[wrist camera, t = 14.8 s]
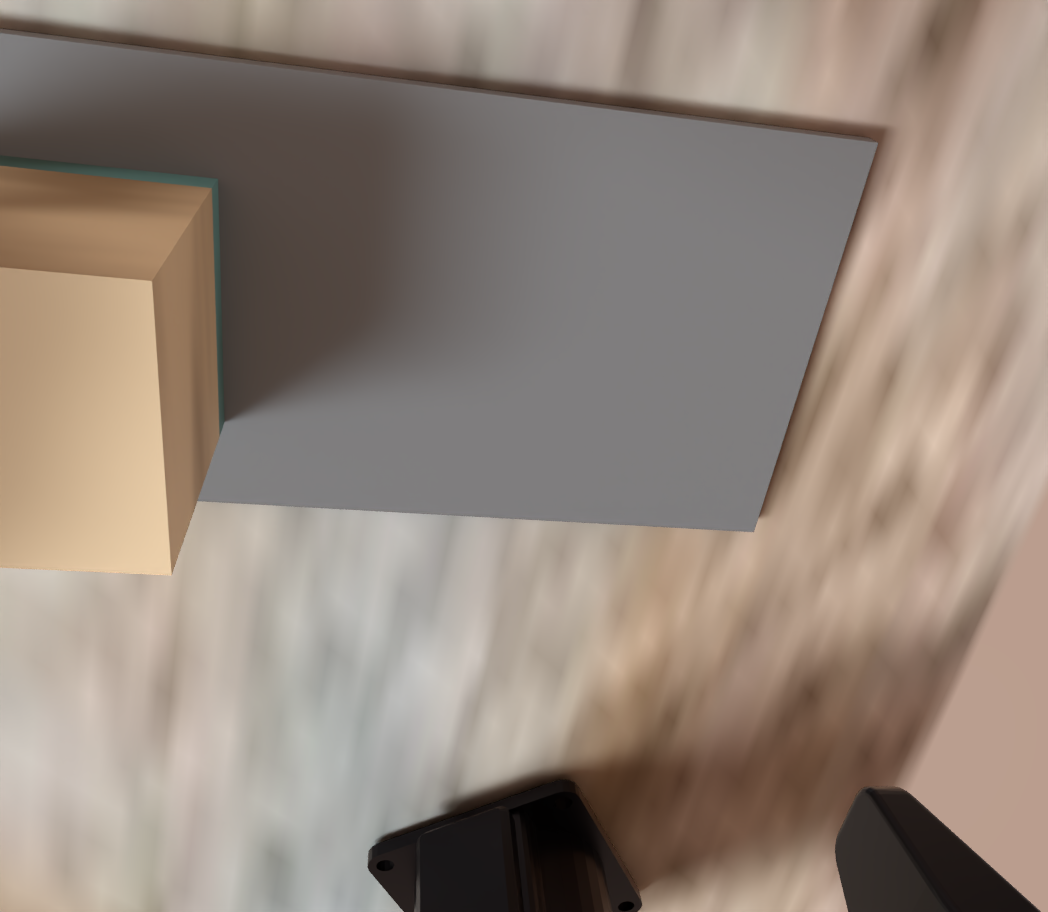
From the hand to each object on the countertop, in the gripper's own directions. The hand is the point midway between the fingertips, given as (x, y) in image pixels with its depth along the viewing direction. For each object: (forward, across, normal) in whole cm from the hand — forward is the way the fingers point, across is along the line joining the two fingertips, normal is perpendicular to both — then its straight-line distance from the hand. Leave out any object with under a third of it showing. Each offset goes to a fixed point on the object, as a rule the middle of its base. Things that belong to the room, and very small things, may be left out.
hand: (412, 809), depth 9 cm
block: (+6, +6, 0) cm, 9 cm away
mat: (+12, +1, 0) cm, 12 cm away
